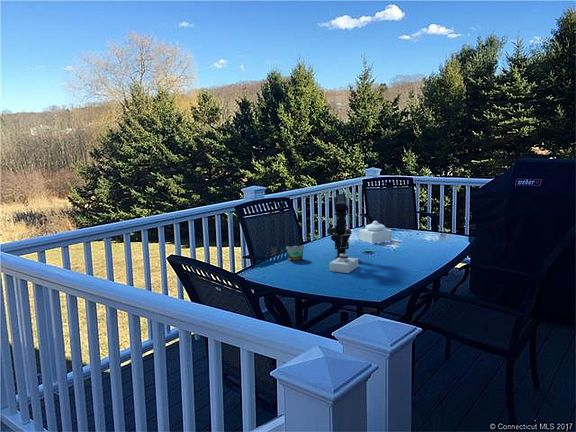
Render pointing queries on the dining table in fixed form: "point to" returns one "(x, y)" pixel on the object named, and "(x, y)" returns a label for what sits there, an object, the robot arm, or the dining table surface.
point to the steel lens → (343, 257)
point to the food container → (295, 253)
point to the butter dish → (375, 233)
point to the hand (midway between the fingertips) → (341, 248)
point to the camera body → (343, 265)
